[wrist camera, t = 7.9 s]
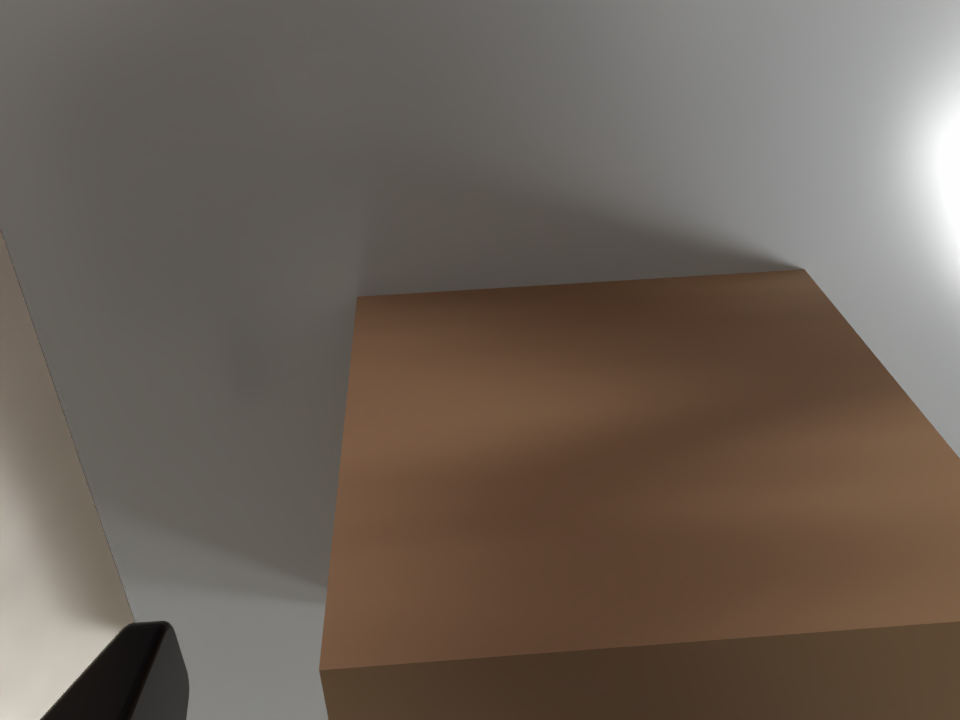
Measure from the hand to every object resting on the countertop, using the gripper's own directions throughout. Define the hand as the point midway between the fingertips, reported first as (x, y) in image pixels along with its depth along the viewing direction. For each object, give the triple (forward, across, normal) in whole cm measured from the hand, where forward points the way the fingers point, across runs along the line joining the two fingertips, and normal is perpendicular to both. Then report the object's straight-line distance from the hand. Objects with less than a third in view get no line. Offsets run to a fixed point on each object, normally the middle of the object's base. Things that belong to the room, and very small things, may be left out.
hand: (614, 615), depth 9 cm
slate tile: (+5, 0, 0) cm, 5 cm away
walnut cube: (+2, 0, 0) cm, 3 cm away
